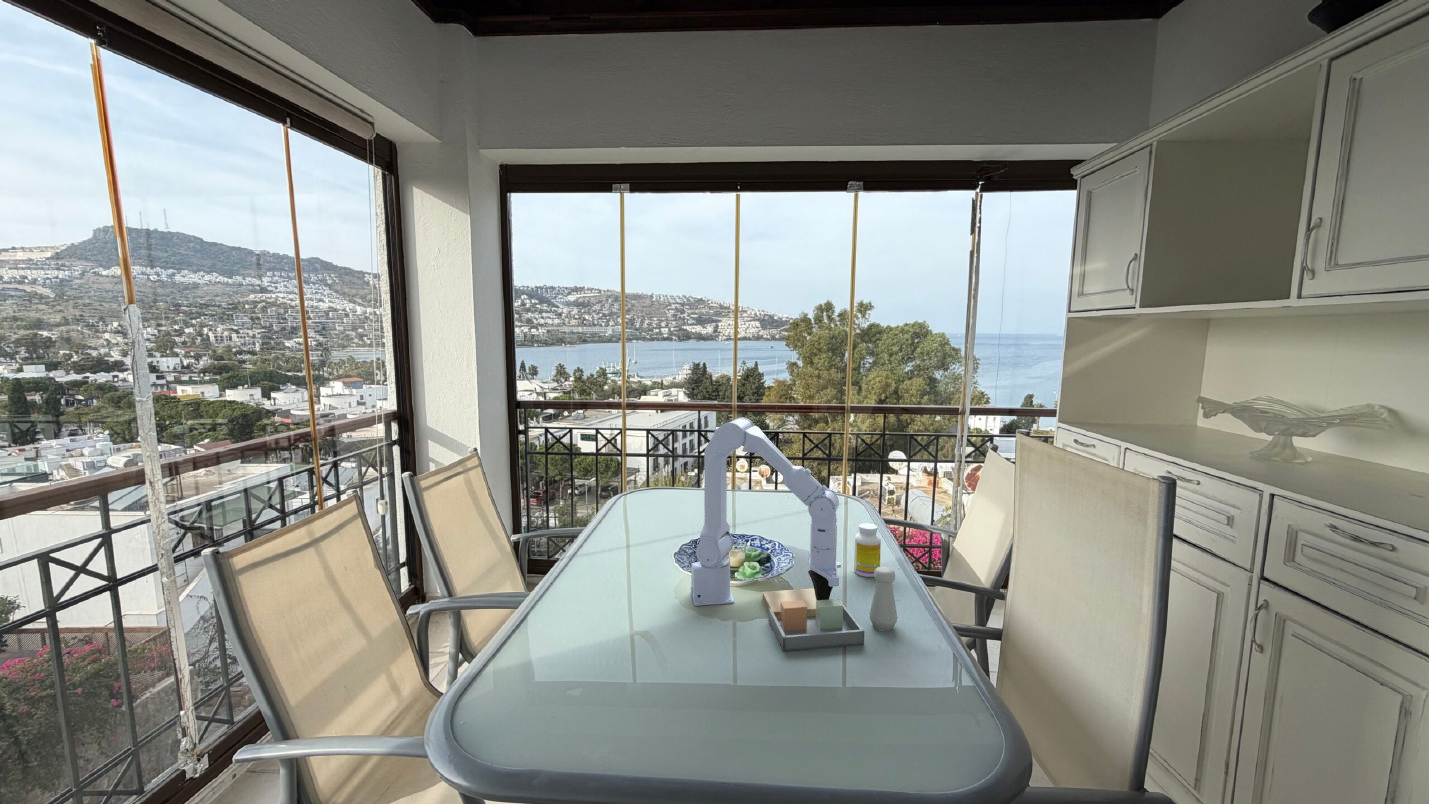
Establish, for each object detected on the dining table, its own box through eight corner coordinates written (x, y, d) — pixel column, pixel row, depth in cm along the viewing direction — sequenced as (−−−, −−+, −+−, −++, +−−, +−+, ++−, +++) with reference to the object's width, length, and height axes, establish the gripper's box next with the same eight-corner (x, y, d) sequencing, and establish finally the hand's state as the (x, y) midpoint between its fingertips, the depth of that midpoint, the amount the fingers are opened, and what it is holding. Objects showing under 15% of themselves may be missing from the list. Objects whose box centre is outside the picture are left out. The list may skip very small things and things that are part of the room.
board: (772, 620, 123) (772, 612, 123) (762, 599, 133) (762, 591, 133) (837, 615, 125) (837, 607, 125) (822, 595, 135) (822, 587, 135)
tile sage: (815, 622, 121) (820, 629, 118) (816, 600, 121) (820, 607, 118) (837, 620, 122) (842, 627, 119) (838, 599, 121) (843, 605, 119)
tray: (783, 651, 111) (783, 637, 111) (768, 621, 123) (768, 608, 122) (864, 644, 113) (864, 630, 113) (842, 616, 125) (842, 603, 125)
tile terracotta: (780, 623, 121) (784, 630, 118) (780, 601, 120) (784, 608, 117) (802, 621, 122) (806, 629, 119) (802, 600, 121) (807, 606, 118)
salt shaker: (898, 634, 117) (900, 575, 116) (870, 632, 118) (871, 573, 117) (895, 621, 123) (897, 564, 121) (868, 618, 124) (869, 562, 122)
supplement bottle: (882, 578, 145) (884, 530, 143) (857, 578, 145) (858, 530, 143) (875, 567, 151) (877, 522, 150) (851, 567, 152) (852, 521, 150)
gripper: (853, 556, 117) (851, 617, 118) (829, 532, 131) (828, 587, 133) (820, 558, 116) (819, 620, 117) (800, 534, 130) (799, 589, 132)
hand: (822, 603), depth 125 cm, fingers closed
